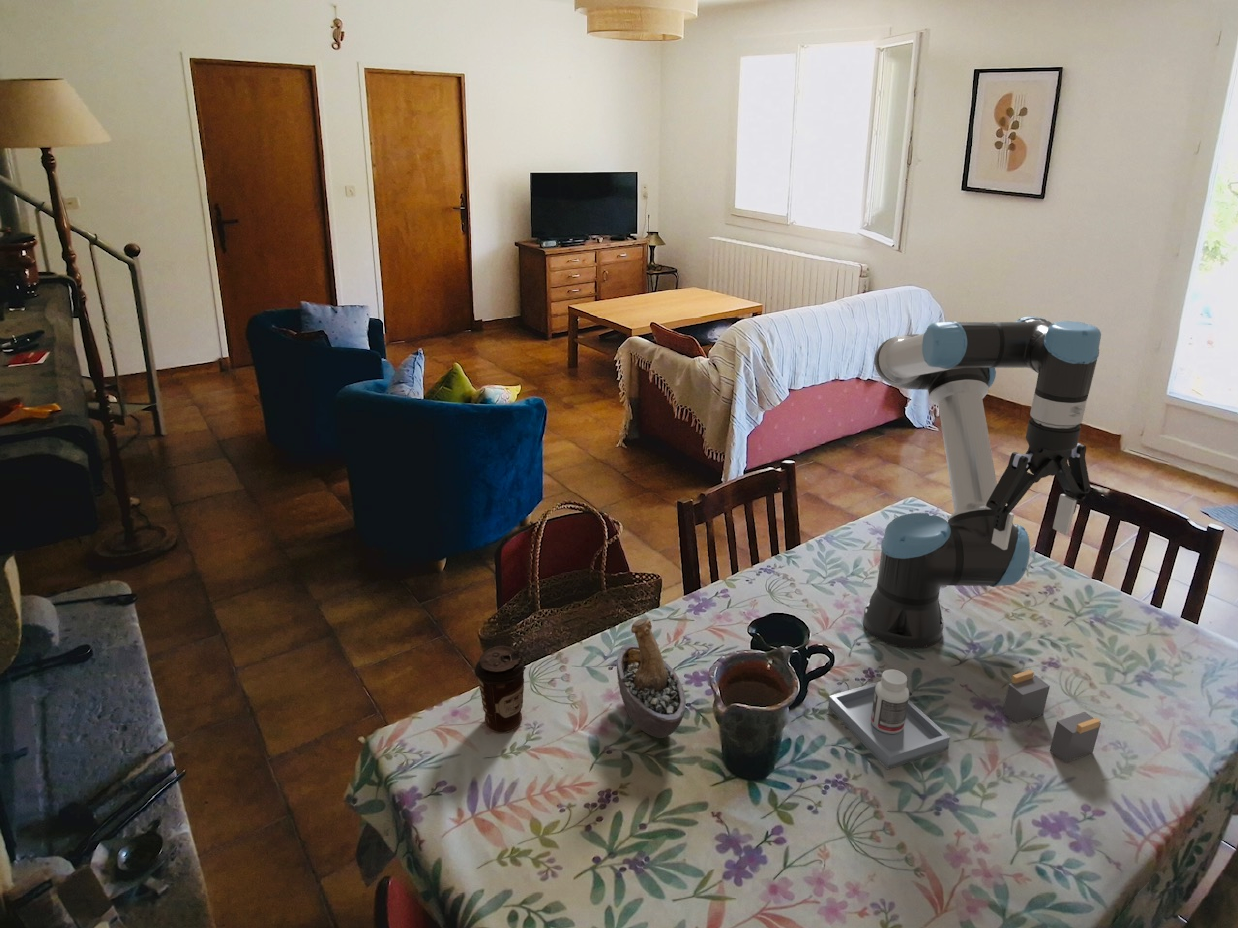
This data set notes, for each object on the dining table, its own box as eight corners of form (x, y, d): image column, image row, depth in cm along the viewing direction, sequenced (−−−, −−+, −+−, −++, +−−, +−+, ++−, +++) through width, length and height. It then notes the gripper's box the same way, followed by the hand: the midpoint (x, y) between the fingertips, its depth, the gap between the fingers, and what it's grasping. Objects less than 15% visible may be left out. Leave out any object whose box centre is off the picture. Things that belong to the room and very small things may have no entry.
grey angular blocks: (1000, 710, 146) (1007, 676, 143) (1026, 702, 148) (1034, 668, 145) (1067, 764, 134) (1077, 728, 131) (1095, 754, 136) (1105, 719, 133)
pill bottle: (910, 727, 141) (919, 679, 137) (888, 739, 138) (896, 691, 134) (885, 709, 145) (892, 662, 141) (863, 720, 142) (870, 673, 138)
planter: (628, 680, 154) (627, 586, 146) (712, 710, 146) (716, 612, 138) (584, 728, 142) (582, 629, 134) (673, 764, 134) (676, 660, 126)
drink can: (539, 713, 146) (535, 650, 140) (513, 744, 139) (509, 679, 134) (496, 699, 149) (491, 638, 144) (469, 728, 142) (463, 665, 137)
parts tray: (828, 707, 147) (829, 695, 146) (884, 690, 151) (886, 679, 150) (887, 769, 133) (889, 757, 132) (947, 749, 137) (950, 736, 136)
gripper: (1013, 440, 127) (989, 563, 135) (1133, 417, 135) (1103, 535, 143) (976, 423, 133) (956, 542, 141) (1093, 403, 141) (1067, 516, 150)
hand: (1030, 538), depth 142 cm, fingers open, 13 cm apart
